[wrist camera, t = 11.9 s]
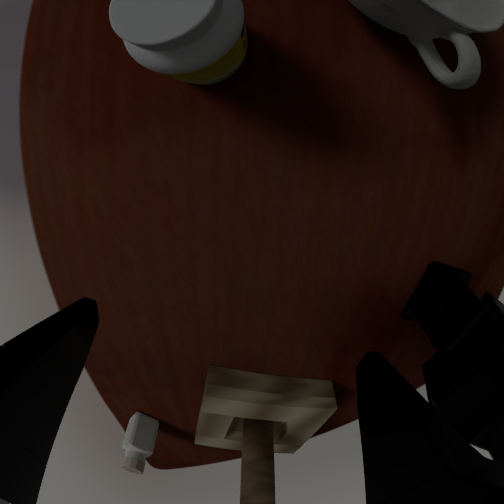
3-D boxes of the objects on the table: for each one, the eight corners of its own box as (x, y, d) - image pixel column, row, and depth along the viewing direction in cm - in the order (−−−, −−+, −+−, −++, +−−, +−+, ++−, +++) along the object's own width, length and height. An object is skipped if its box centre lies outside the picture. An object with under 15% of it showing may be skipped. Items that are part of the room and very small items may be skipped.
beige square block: (331, 380, 30) (337, 410, 26) (291, 430, 36) (293, 454, 33) (209, 364, 28) (204, 397, 25) (197, 420, 35) (194, 444, 31)
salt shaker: (129, 416, 36) (115, 466, 28) (137, 409, 35) (122, 463, 26) (152, 426, 37) (140, 476, 29) (161, 420, 36) (149, 473, 27)
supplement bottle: (263, 61, 15) (271, 16, 7) (189, 100, 16) (125, 97, 8) (224, 0, 13) (198, -76, 4) (153, 39, 14) (72, 1, 5)
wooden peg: (273, 414, 29) (275, 510, 18) (274, 427, 31) (276, 513, 20) (240, 415, 29) (236, 510, 19) (244, 428, 31) (240, 514, 20)
